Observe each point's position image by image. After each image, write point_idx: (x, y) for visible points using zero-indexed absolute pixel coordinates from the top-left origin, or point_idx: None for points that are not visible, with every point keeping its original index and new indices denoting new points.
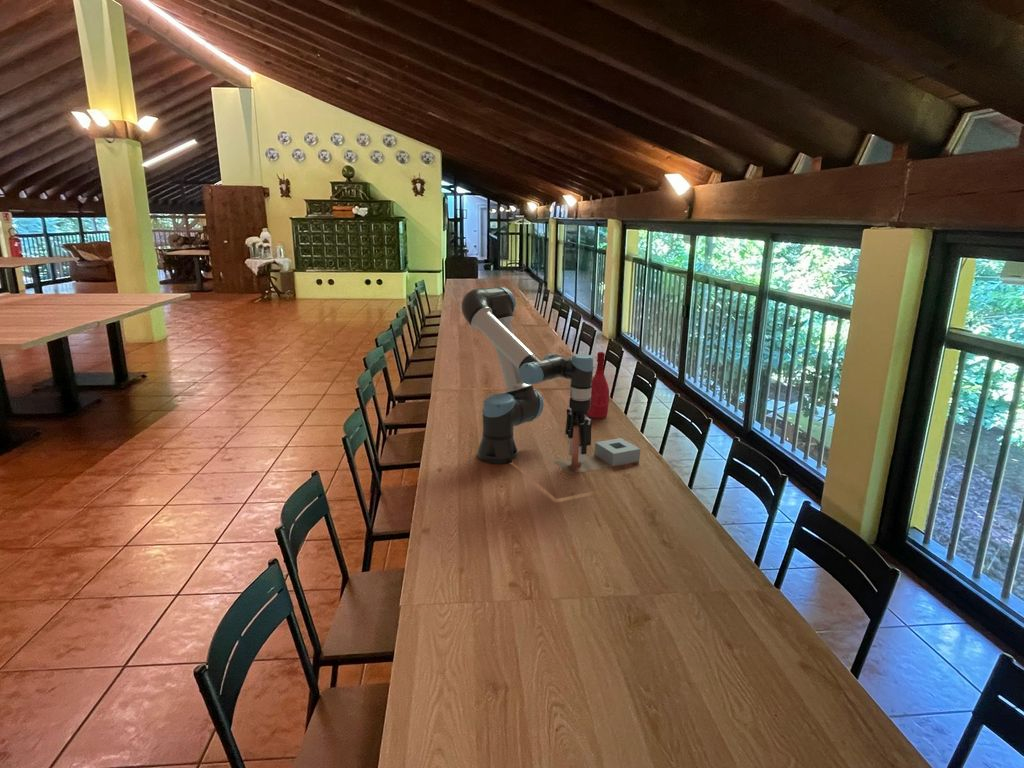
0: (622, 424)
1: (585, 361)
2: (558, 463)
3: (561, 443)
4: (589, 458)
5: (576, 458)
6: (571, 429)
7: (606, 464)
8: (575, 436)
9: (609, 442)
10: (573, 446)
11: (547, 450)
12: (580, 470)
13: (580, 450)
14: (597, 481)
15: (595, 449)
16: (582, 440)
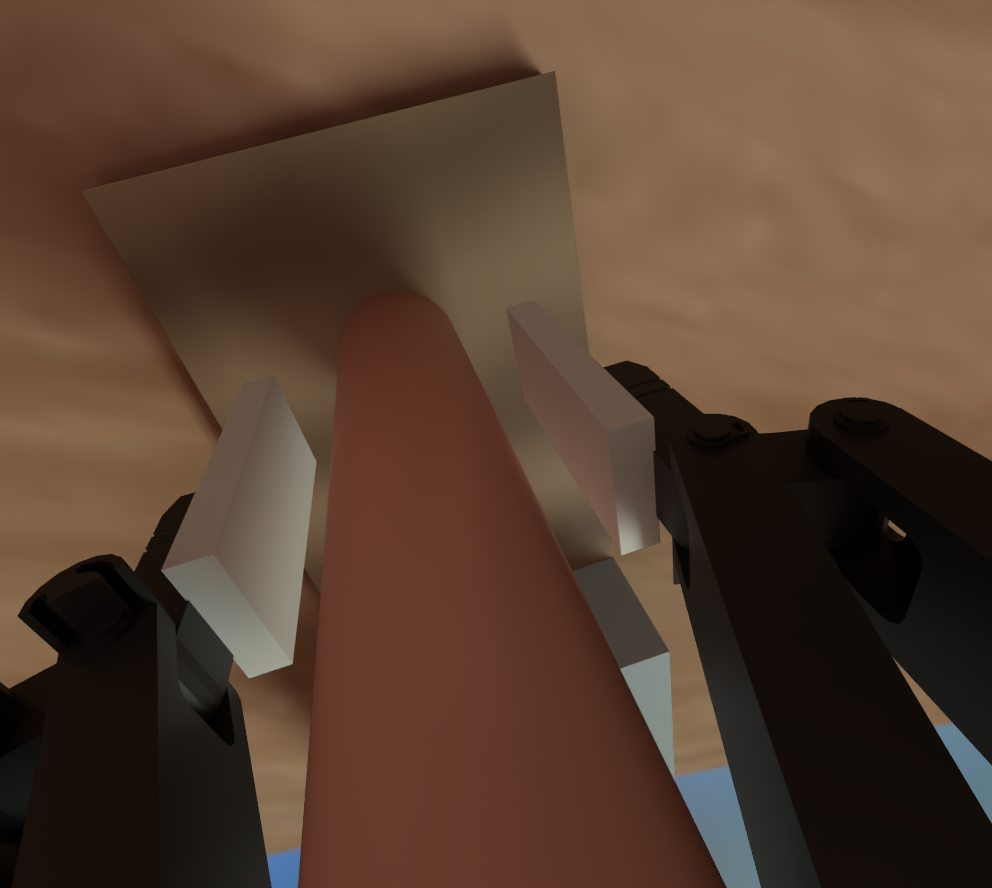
0: (931, 720)
1: None
2: (487, 127)
3: (955, 348)
4: (546, 508)
5: (337, 378)
6: (750, 660)
7: None
8: (358, 634)
9: None
10: (390, 419)
11: (916, 144)
12: (244, 361)
13: (201, 506)
14: (18, 474)
15: (625, 598)
16: (52, 756)
